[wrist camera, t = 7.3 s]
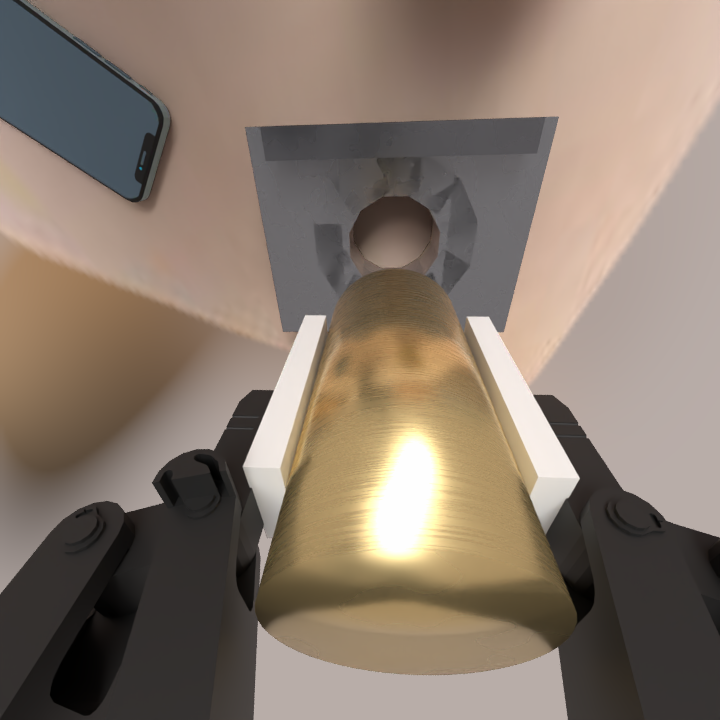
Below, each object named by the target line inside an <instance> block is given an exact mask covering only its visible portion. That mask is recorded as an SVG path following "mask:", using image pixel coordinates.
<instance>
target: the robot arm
mask: <svg viewBox="0 0 720 720" xmlns="http://www.w3.org/2000/svg"><path fill="white" fill-rule="evenodd" d="M327 335H328V332H327V320H326V315H305V317H304V319H303V322H302V324H301V327H300V329H299V332H298V334H297V336H296V339H295V341H294V344H293V346H292V349H291V351H290V353H289V356H288V358H287V361H286V363H285V365H284V368H283V370H282V373H281V375H280V378H279V380H278V383H277V385H276V388H275V390H274V391H273V390H252V391H251V392H250V393H249V394H248V395H246V397H244V398H243V399H242V400H241V401H240V402H239V404H238V406H237V408H236V410H235V412H234V413H233V417H232V418H231V419H230V421H229V423H228V425H227V429H226V430H225V431H224V433H223V435H222V436H221V439H220V440H219V442H218V444H217V446H216V448H215V450H214V451H213V450H210V449H196V450H193V451H190V452H187V453H183V454H181V455H179V456H178V457H176V458H174V459H172V460H171V461H169V462H168V463H167V464H166V465H165V466H164V467H163V468H162V469H161V470H160V471H159V472H158V474H157V475H156V477H155V479H154V481H153V482H152V484H153V485H154V487H155V489H156V490H157V492H158V493H159V495H160V497H161V498H162V500H163V501H164V503H162V504H159V505H155V506H151V507H147V508H143V509H139V510H135V511H131V512H127V513H125V512H124V511H123V509H122V508H121V507H120V506H119V505H118V504H117V503H113V502H109V501H105V502H97V503H93V504H91V505H88V506H85V507H83V508H80V509H78V510H77V511H75V512H74V513H72V514H71V515H69V516H68V517H66V518H65V519H63V520H62V521H61V522H60V523H59V524H58V525H57V526H56V528H54V529H53V530H52V531H51V532H50V534H49V535H48V536H47V537H46V539H45V540H44V541H43V542H42V544H41V545H40V546H39V547H38V548H37V550H36V551H35V552H34V553H33V555H32V556H31V557H30V558H29V559H28V561H27V562H26V563H25V564H24V566H23V567H22V568H21V569H20V571H19V572H18V573H17V574H16V576H15V577H14V578H13V579H12V581H11V582H10V583H9V584H8V585H7V587H6V588H5V589H4V590H3V592H2V593H1V594H0V720H253V715H254V692H255V670H256V648H257V625H258V619H257V616H256V613H255V601H256V598H257V594H258V590H259V579H260V552H259V547H258V543H259V539H260V536H261V532H262V529H263V528H264V530H265V533H266V536H267V538H273V535H274V531H275V527H276V524H277V520H278V516H279V513H280V509H281V505H282V502H283V498H284V494H285V490H286V487H287V483H288V479H289V476H290V472H291V468H292V465H293V461H294V457H295V453H296V450H297V446H298V442H299V439H300V435H301V431H302V428H303V424H304V420H305V417H306V413H307V409H308V405H309V402H310V398H311V394H312V391H313V387H314V383H315V380H316V376H317V372H318V369H319V365H320V361H321V357H322V354H323V350H324V346H325V343H326V339H327ZM464 335H465V337H466V340H467V342H468V345H469V347H470V350H471V352H472V354H473V357H474V359H475V362H476V364H477V367H478V369H479V372H480V374H481V377H482V379H483V382H484V384H485V387H486V389H487V392H488V394H489V397H490V399H491V402H492V404H493V406H494V409H495V411H496V414H497V416H498V419H499V421H500V424H501V426H502V429H503V431H504V434H505V436H506V439H507V441H508V444H509V446H510V449H511V451H512V454H513V456H514V458H515V461H516V463H517V466H518V468H519V471H520V473H521V476H522V478H523V481H524V483H525V486H526V488H527V491H528V493H529V496H530V498H531V501H532V503H533V506H534V508H535V510H536V513H537V515H538V518H539V520H540V523H541V525H542V528H543V530H544V533H545V535H546V538H547V540H548V543H549V545H550V548H551V550H552V553H553V555H554V558H555V560H556V562H557V565H558V567H559V570H560V572H561V575H562V577H563V580H564V582H565V585H566V587H567V590H568V592H569V595H570V597H571V600H572V602H573V605H574V607H575V610H576V612H577V624H576V627H575V629H574V631H573V633H572V634H571V635H570V637H569V638H568V639H567V640H566V641H565V642H564V643H563V644H561V645H560V646H559V647H558V648H559V655H560V663H561V670H562V678H563V686H564V692H565V700H566V708H567V716H568V720H720V538H719V537H716V536H712V535H709V534H706V533H702V532H699V531H696V530H693V529H689V528H686V527H682V526H679V525H676V524H673V523H671V522H668V521H666V520H665V519H664V517H663V516H662V515H661V514H660V513H659V512H658V511H657V510H656V509H655V508H654V507H652V506H651V505H650V504H649V503H648V502H646V501H644V500H642V499H641V498H639V497H638V496H636V495H634V494H632V493H629V492H626V491H624V490H623V489H622V488H621V487H620V485H619V484H618V482H617V481H616V479H615V478H614V476H613V475H612V473H611V472H610V470H609V468H608V467H607V465H606V464H605V462H604V461H603V460H602V458H601V456H600V455H599V454H598V452H597V451H596V449H595V447H594V446H593V444H592V443H591V441H590V440H589V439H588V438H586V434H585V432H584V431H583V430H582V428H581V426H578V422H577V420H576V419H575V418H574V416H573V414H572V413H571V411H570V410H569V408H568V407H566V406H565V405H564V404H563V403H561V402H560V401H559V400H558V399H557V398H555V397H554V396H553V395H533V394H532V393H531V391H530V389H529V387H528V385H527V384H526V382H525V380H524V378H523V377H522V375H521V373H520V371H519V369H518V368H517V366H516V364H515V362H514V361H513V359H512V357H511V355H510V354H509V352H508V350H507V348H506V346H505V345H504V343H503V341H502V339H501V338H500V336H499V334H498V332H497V330H496V329H495V327H494V325H493V323H492V322H491V320H490V318H489V317H467V318H466V323H465V329H464Z"/></svg>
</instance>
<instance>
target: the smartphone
mask: <svg viewBox="0 0 720 720" xmlns="http://www.w3.org/2000/svg"><path fill="white" fill-rule="evenodd" d="M0 118H1V119H3V120H4V121H6V122H7V123H9V124H10V125H12V126H14V127H15V128H17V129H18V130H20V131H21V132H23V133H24V134H26V135H28V136H29V137H31V138H32V139H34V140H35V141H37V142H38V143H40V144H41V145H43V146H45V147H46V148H48V149H49V150H51V151H52V152H54V153H55V154H57V155H58V156H60V157H62V158H63V159H65V160H66V161H68V162H69V163H71V164H72V165H74V166H76V167H77V168H79V169H80V170H82V171H83V172H85V173H86V174H88V175H89V176H91V177H93V178H94V179H96V180H97V181H99V182H100V183H102V184H103V185H105V186H106V187H108V188H110V189H111V190H113V191H114V192H116V193H117V194H119V195H120V196H122V197H124V198H125V199H127V200H129V201H131V202H139V201H142V200H145V199H147V198H148V196H149V195H150V191H151V188H152V184H153V181H154V178H155V174H156V171H157V167H158V164H159V161H160V157H161V154H162V150H163V147H164V144H165V140H166V137H167V134H168V130H169V127H170V115H169V112H168V110H167V108H166V106H165V105H164V104H163V103H162V102H161V101H160V100H159V99H158V98H156V97H155V96H154V95H152V93H151V92H150V91H148V90H147V89H146V88H144V87H143V86H142V85H139V84H138V83H136V82H135V81H134V80H132V79H131V77H129V76H128V75H127V74H125V73H124V72H123V71H121V70H120V69H119V68H117V67H116V66H115V65H113V64H112V63H111V62H109V61H108V60H106V59H104V58H103V57H102V56H101V55H100V54H99V53H97V52H96V51H95V50H93V49H92V48H91V47H89V46H88V45H87V44H85V43H84V42H83V41H81V40H80V39H79V38H77V37H75V36H74V35H72V34H71V33H69V32H68V31H67V30H65V29H64V28H63V27H61V26H60V25H59V24H57V23H56V22H54V21H53V20H52V19H50V18H49V17H48V16H46V15H45V14H44V13H42V12H41V11H40V10H38V9H37V8H35V7H34V6H33V5H31V4H30V3H29V2H27V1H26V0H0Z"/></svg>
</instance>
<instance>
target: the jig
mask: <svg viewBox="0 0 720 720" xmlns="http://www.w3.org/2000/svg"><path fill="white" fill-rule="evenodd" d="M558 118H559V117H533V118H503V119H474V120H444V121H415V122H385V123H356V124H326V125H297V126H267V127H245V130H246V135H247V140H248V146H249V151H250V156H251V162H252V167H253V173H254V178H255V183H256V189H257V194H258V199H259V205H260V210H261V216H262V221H263V226H264V232H265V237H266V242H267V248H268V253H269V259H270V264H271V269H272V275H273V280H274V285H275V291H276V296H277V301H278V307H279V312H280V318H281V323H282V328H283V332H299V329H300V327H301V324H302V322H303V319H304V317H305V315H326V320H327V332H329V328H330V324H331V320H332V317H333V313H334V310H335V307H336V305H337V302H338V300H339V299H340V297H341V296H342V294H343V293H344V292H345V291H346V289H347V288H348V287H349V286H351V285H352V284H353V283H354V282H355V281H357V280H358V279H360V278H361V277H364V276H366V275H368V274H370V273H373V272H376V271H380V270H385V269H406V270H411V271H415V272H418V273H421V274H423V275H425V276H427V277H429V278H430V279H432V280H433V281H435V282H436V283H437V284H438V285H439V286H441V287H442V289H443V290H444V291H445V292H446V293H447V295H448V297H449V298H450V300H451V302H452V305H453V307H454V310H455V312H456V315H457V317H458V320H459V322H460V325H461V327H462V330H463V332H464V329H465V323H466V318H467V317H489V318H490V320H491V322H492V323H493V325H494V327H495V329H496V330H497V332H504V329H505V325H506V321H507V317H508V313H509V309H510V305H511V301H512V298H513V294H514V290H515V286H516V282H517V278H518V274H519V270H520V266H521V262H522V258H523V255H524V251H525V247H526V243H527V239H528V235H529V231H530V227H531V223H532V219H533V216H534V212H535V208H536V204H537V200H538V196H539V192H540V188H541V184H542V180H543V177H544V173H545V169H546V165H547V161H548V157H549V153H550V149H551V145H552V141H553V138H554V134H555V130H556V126H557V122H558ZM390 196H409V197H411V198H412V199H414V200H415V201H417V202H419V203H420V204H422V205H423V206H425V207H426V208H428V209H429V211H430V214H431V216H432V218H433V221H432V232H431V241H430V242H429V244H428V245H427V247H426V248H425V250H424V251H423V253H422V254H421V256H420V257H419V258H418V259H417V260H415V261H413V262H411V263H409V264H408V265H406V266H404V267H402V268H380V267H378V266H377V265H375V264H373V263H371V262H369V261H368V260H366V259H364V257H363V256H362V254H361V252H360V251H359V249H358V247H357V246H356V244H355V242H354V231H353V225H354V223H355V221H356V219H357V217H358V215H359V213H360V211H361V210H363V209H364V208H366V207H367V206H369V205H370V204H372V203H374V202H375V201H377V200H378V199H380V198H381V197H390Z"/></svg>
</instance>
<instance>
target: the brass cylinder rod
mask: <svg viewBox="0 0 720 720" xmlns="http://www.w3.org/2000/svg"><path fill="white" fill-rule="evenodd" d="M255 613H256V616H257V619H258V621H259V622H260V624H261V625H262V627H263V628H264V629H265V630H266V631H267V632H268V633H269V634H270V635H271V636H273V637H274V638H275V639H277V640H278V641H280V642H281V643H283V644H285V645H286V646H288V647H291V648H292V649H294V650H296V651H299V652H301V653H304V654H306V655H309V656H311V657H314V658H317V659H320V660H323V661H327V662H331V663H334V664H338V665H342V666H347V667H351V668H356V669H363V670H368V671H375V672H383V673H394V674H408V675H410V674H411V675H452V674H465V673H475V672H483V671H488V670H495V669H500V668H505V667H509V666H513V665H517V664H520V663H524V662H527V661H530V660H533V659H535V658H538V657H540V656H542V655H544V654H547V653H549V652H551V651H552V650H554V649H555V648H557V647H559V646H560V645H561V644H563V643H564V642H565V641H566V640H567V639H568V638H569V637H570V635H571V634H572V633H573V631H574V629H575V627H576V624H577V612H576V610H575V607H574V605H573V602H572V600H571V597H570V595H569V592H568V590H567V587H566V585H565V582H564V580H563V577H562V575H561V572H560V570H559V567H558V565H557V562H556V560H555V558H554V555H553V553H552V550H551V548H550V545H549V543H548V540H547V538H546V535H545V533H544V530H543V528H542V525H541V523H540V520H539V518H538V515H537V513H536V510H535V508H534V506H533V503H532V501H531V498H530V496H529V493H528V491H527V488H526V486H525V483H524V481H523V478H522V476H521V473H520V471H519V468H518V466H517V463H516V461H515V458H514V456H513V454H512V451H511V449H510V446H509V444H508V441H507V439H506V436H505V434H504V431H503V429H502V426H501V424H500V421H499V419H498V416H497V414H496V411H495V409H494V406H493V404H492V402H491V399H490V397H489V394H488V392H487V389H486V387H485V384H484V382H483V379H482V377H481V374H480V372H479V369H478V367H477V364H476V362H475V359H474V357H473V354H472V352H471V350H470V347H469V345H468V342H467V340H466V337H465V335H464V332H463V330H462V327H461V325H460V322H459V320H458V317H457V315H456V312H455V310H454V307H453V305H452V302H451V300H450V298H449V297H448V295H447V293H446V292H445V291H444V290H443V289H442V287H441V286H439V285H438V284H437V283H436V282H435V281H433V280H432V279H430V278H429V277H427V276H425V275H423V274H421V273H418V272H415V271H411V270H406V269H385V270H380V271H376V272H373V273H370V274H368V275H366V276H364V277H361V278H360V279H358V280H357V281H355V282H354V283H353V284H352V285H351V286H349V287H348V288H347V289H346V291H345V292H344V293H343V294H342V296H341V297H340V299H339V300H338V302H337V305H336V307H335V310H334V313H333V317H332V320H331V324H330V328H329V332H328V335H327V339H326V343H325V346H324V350H323V354H322V357H321V361H320V365H319V369H318V372H317V376H316V380H315V383H314V387H313V391H312V394H311V398H310V402H309V405H308V409H307V413H306V417H305V420H304V424H303V428H302V431H301V435H300V439H299V442H298V446H297V450H296V453H295V457H294V461H293V465H292V468H291V472H290V476H289V479H288V483H287V487H286V490H285V494H284V498H283V502H282V505H281V509H280V513H279V516H278V520H277V524H276V527H275V531H274V535H273V538H272V542H271V546H270V550H269V553H268V557H267V561H266V564H265V568H264V572H263V576H262V579H261V583H260V587H259V590H258V594H257V598H256V601H255Z"/></svg>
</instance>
